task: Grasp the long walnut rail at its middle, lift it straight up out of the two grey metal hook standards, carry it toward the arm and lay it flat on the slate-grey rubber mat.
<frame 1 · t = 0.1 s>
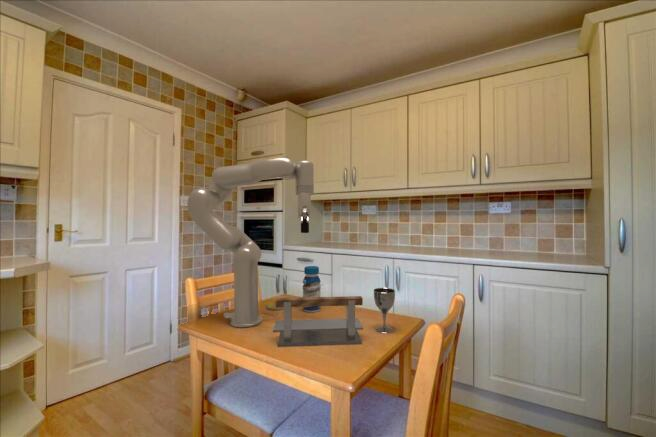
hand: (304, 232, 125), 37 cm above the table, tool pointing down, fingers open, 9 cm apart
walnut rail: (319, 305, 106), point 12 cm above the table, touching hook standards
wine glass: (384, 330, 115), on the table
bread roll: (276, 308, 144), on the table
beverage bottle: (311, 310, 141), on the table
grey mat: (317, 325, 120), on the table
hook standards: (319, 339, 106), on the table
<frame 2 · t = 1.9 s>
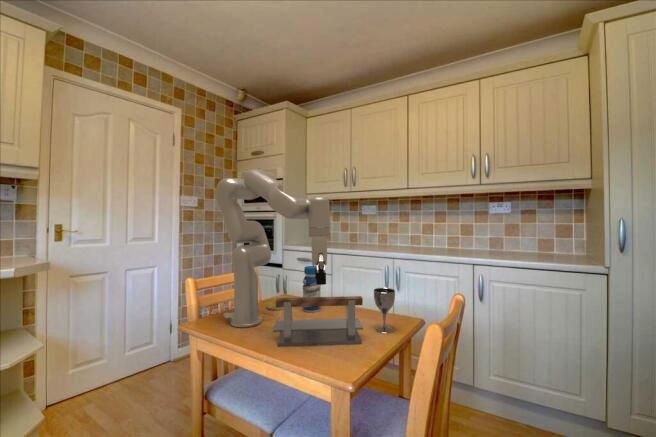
hand: (320, 281, 106), 20 cm above the table, tool pointing down, fingers open, 9 cm apart
nothing on the table moved.
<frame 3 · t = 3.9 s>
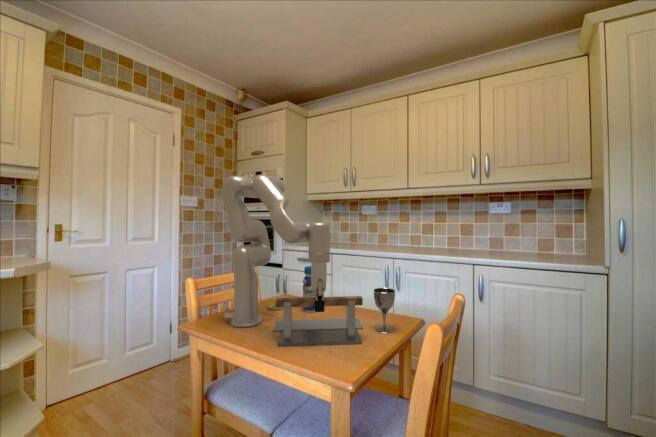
hand: (319, 309, 106), 10 cm above the table, tool pointing down, fingers closed on walnut rail, 3 cm apart
walnut rail: (319, 305, 106), point 12 cm above the table, touching gripper, hook standards
everything else where it was.
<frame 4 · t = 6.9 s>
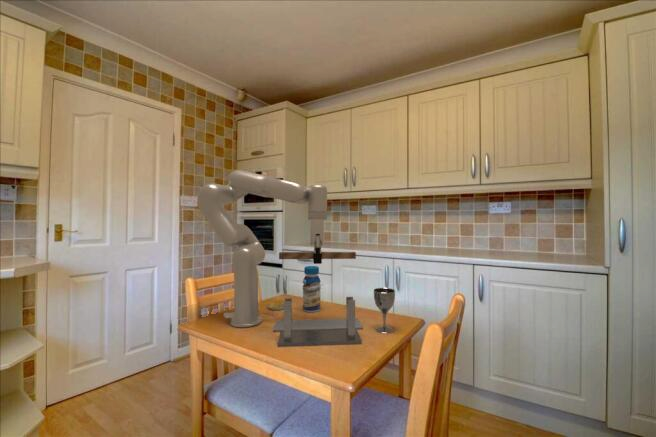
hand: (317, 262, 120), 25 cm above the table, tool pointing down, fingers closed on walnut rail, 3 cm apart
walnut rail: (317, 258, 120), point 27 cm above the table, touching gripper
everything else where it was.
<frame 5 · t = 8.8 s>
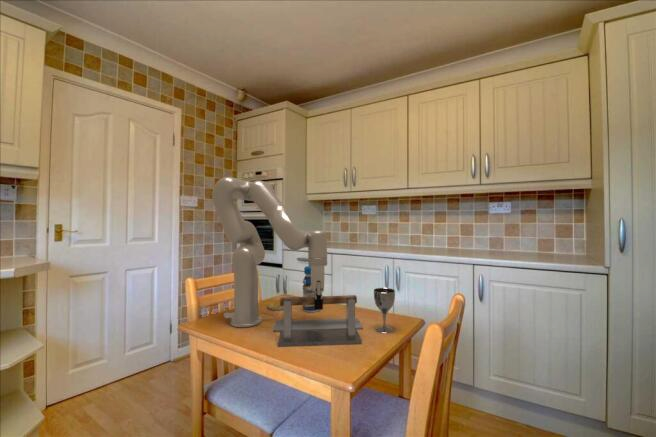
hand: (318, 307, 120), 7 cm above the table, tool pointing down, fingers closed on walnut rail, 3 cm apart
walnut rail: (318, 303, 120), point 9 cm above the table, touching gripper
everything else where it was.
when the fingers open (1 cm above the table, at t = 10.3 s): walnut rail drops 2 cm, resting on grey mat.
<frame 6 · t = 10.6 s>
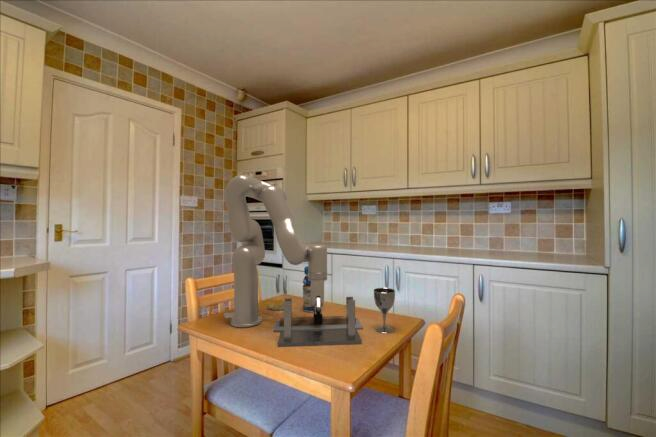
hand: (317, 321, 120), 2 cm above the table, tool pointing down, fingers open, 5 cm apart
walnut rail: (317, 323, 120), point 1 cm above the table, touching grey mat
everything else where it was.
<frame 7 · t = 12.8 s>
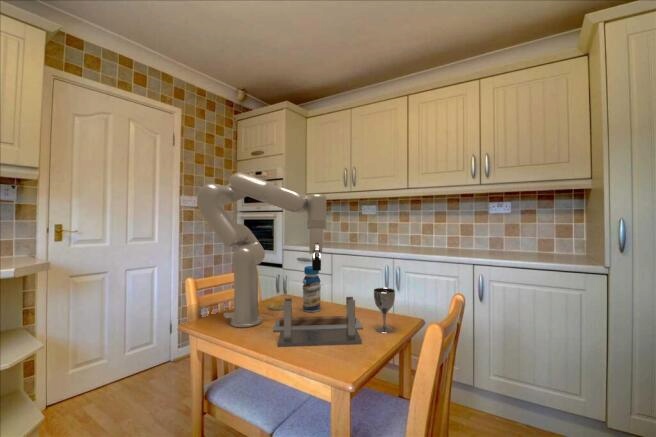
hand: (316, 268, 120), 23 cm above the table, tool pointing down, fingers open, 9 cm apart
nothing on the table moved.
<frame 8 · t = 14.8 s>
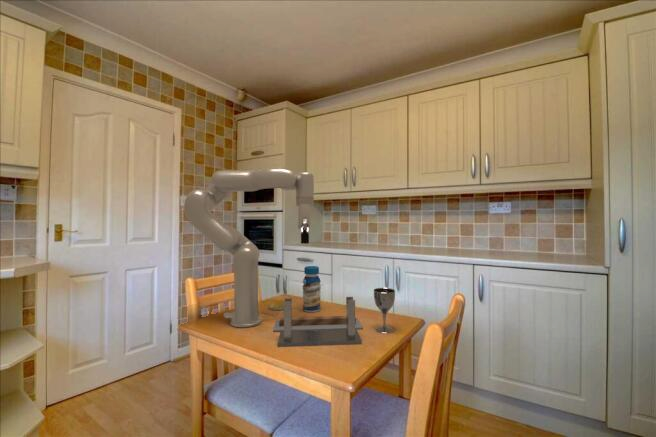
hand: (305, 242, 128), 32 cm above the table, tool pointing down, fingers open, 9 cm apart
nothing on the table moved.
at the end: walnut rail inside the target area on the grey mat (0.1 cm from its centre), point 0.6 cm above the grey mat's base; walnut rail tilted 0°; the gripper is holding nothing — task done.
